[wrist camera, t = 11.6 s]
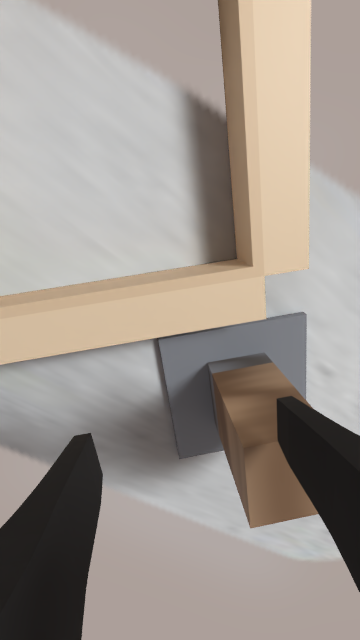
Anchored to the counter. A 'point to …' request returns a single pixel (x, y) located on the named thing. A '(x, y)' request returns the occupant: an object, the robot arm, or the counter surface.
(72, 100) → the counter surface
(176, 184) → the counter surface
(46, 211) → the counter surface
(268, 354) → the slate mat
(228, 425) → the walnut block
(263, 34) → the wooden square frame
